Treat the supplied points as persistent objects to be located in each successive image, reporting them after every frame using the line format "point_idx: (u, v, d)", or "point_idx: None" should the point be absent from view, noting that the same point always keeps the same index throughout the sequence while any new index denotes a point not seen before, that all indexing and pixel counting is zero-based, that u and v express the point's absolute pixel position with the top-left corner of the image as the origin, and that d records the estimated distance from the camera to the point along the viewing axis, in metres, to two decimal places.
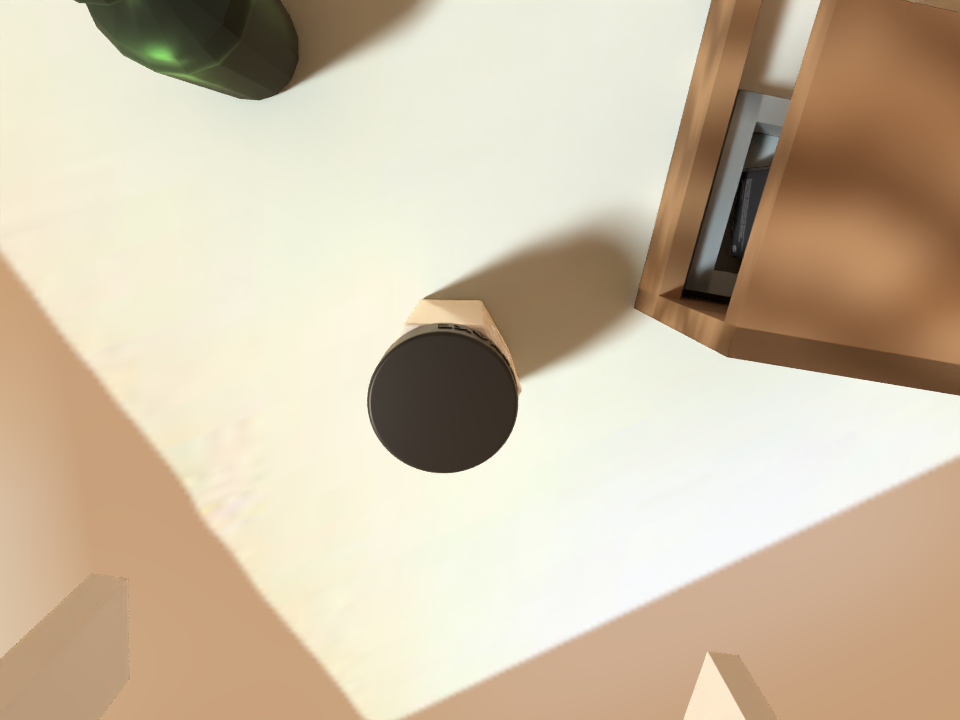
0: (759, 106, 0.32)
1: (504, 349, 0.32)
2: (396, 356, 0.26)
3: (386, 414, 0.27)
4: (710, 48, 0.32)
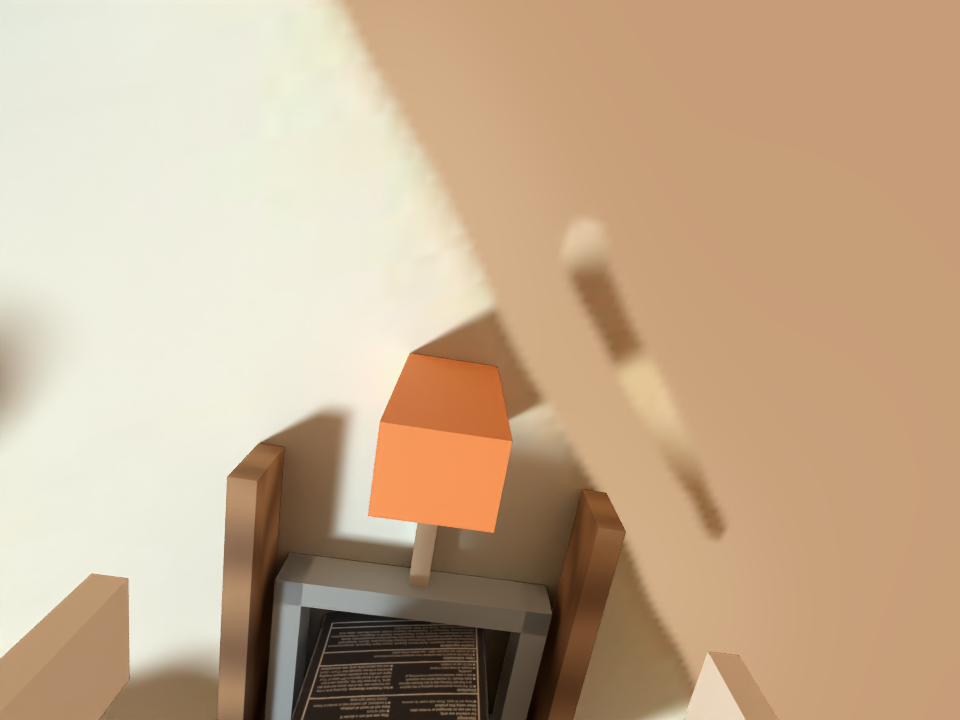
0: (300, 593, 0.30)
1: None
2: None
3: None
4: None
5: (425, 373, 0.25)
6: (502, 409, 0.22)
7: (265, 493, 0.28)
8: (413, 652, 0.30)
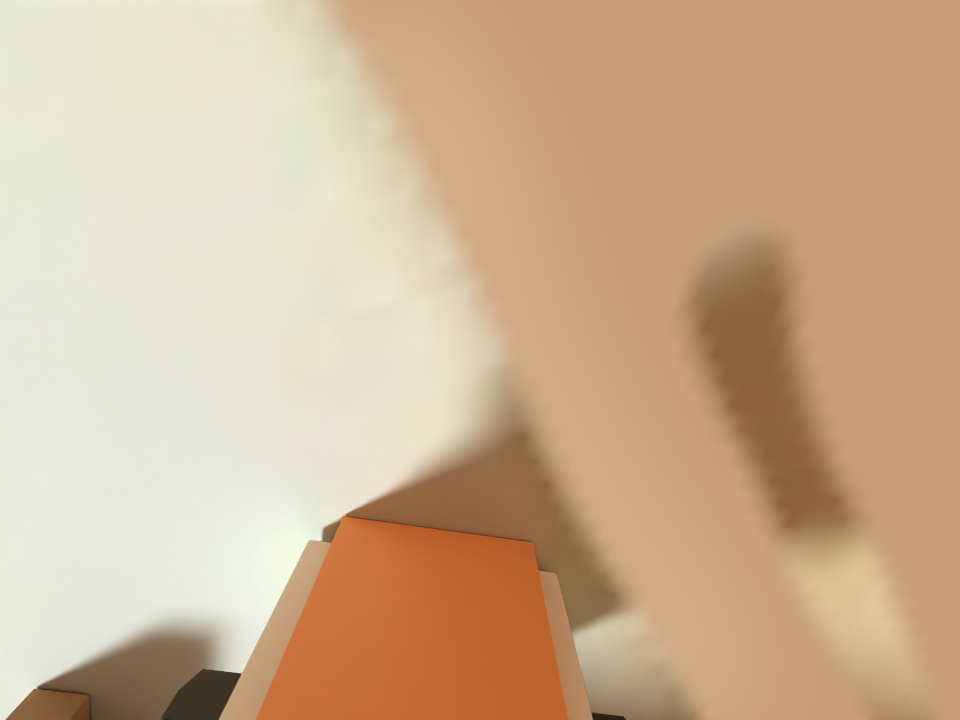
0: None
1: None
2: None
3: None
4: None
5: (359, 618, 0.10)
6: None
7: None
8: None
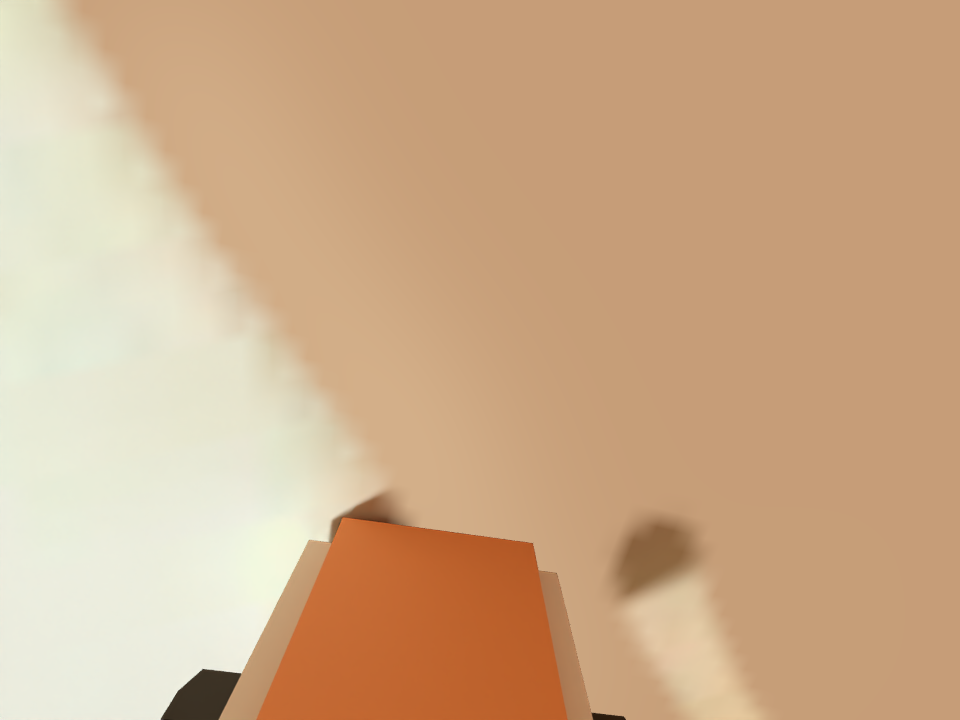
0: None
1: None
2: None
3: None
4: None
5: (359, 619, 0.10)
6: None
7: None
8: None
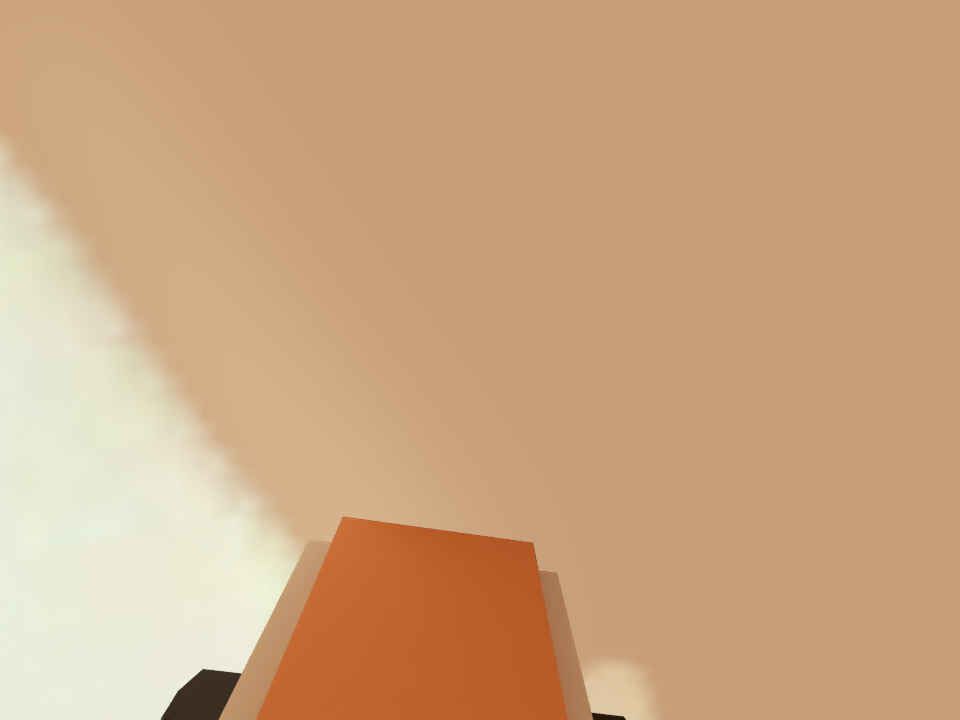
0: None
1: None
2: None
3: None
4: None
5: (360, 618, 0.10)
6: None
7: None
8: None
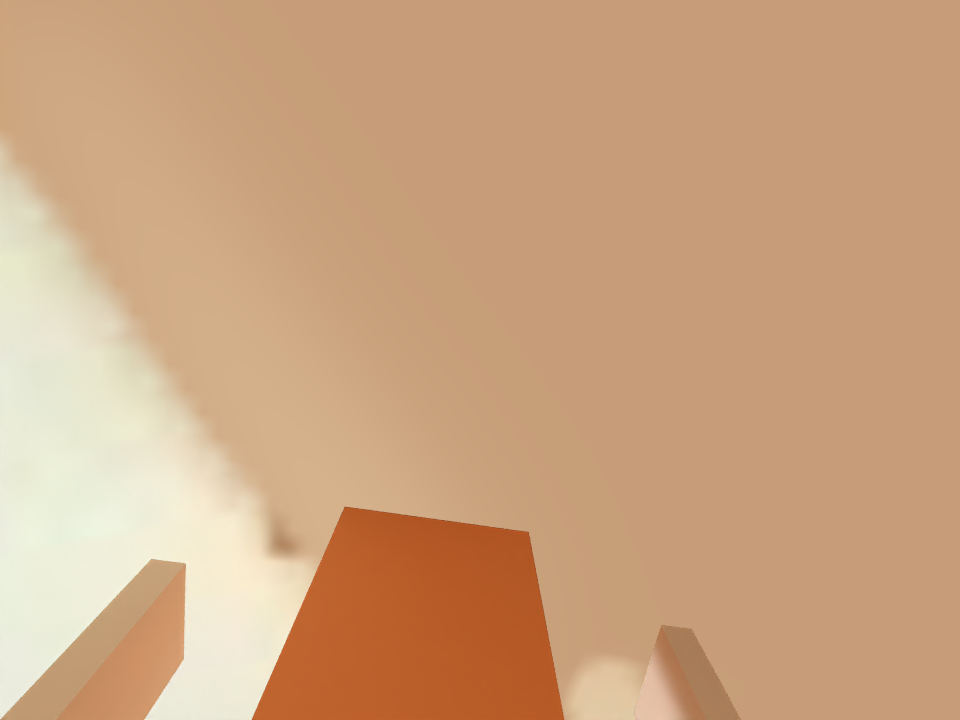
0: None
1: None
2: None
3: None
4: None
5: (362, 600, 0.10)
6: None
7: None
8: None
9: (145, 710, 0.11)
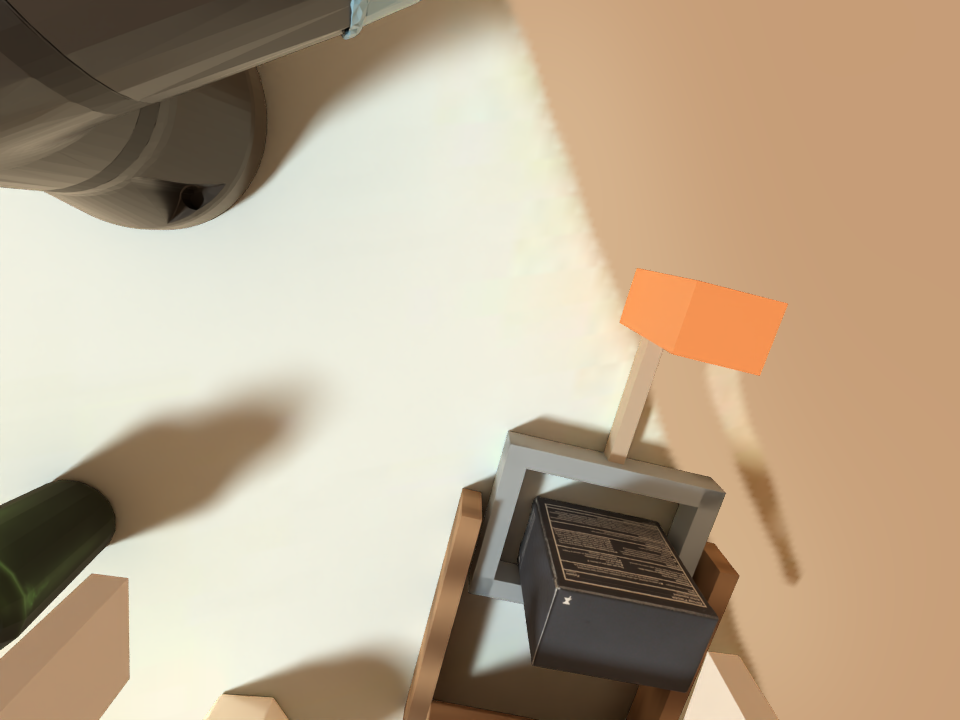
0: (528, 457, 0.36)
1: None
2: None
3: None
4: (446, 558, 0.39)
5: None
6: None
7: None
8: (620, 535, 0.37)
9: None
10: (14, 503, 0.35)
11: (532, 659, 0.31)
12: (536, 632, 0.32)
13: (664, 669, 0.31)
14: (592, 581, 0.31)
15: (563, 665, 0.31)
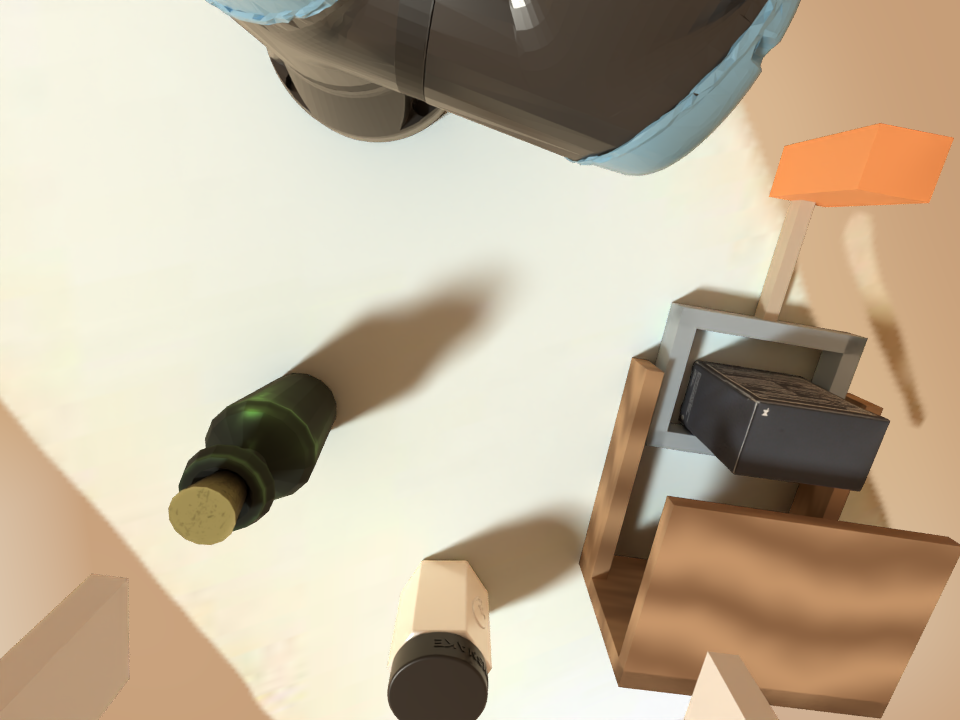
0: (698, 318, 0.42)
1: (481, 626, 0.46)
2: (407, 670, 0.40)
3: (400, 702, 0.41)
4: (624, 417, 0.45)
5: None
6: None
7: None
8: (779, 380, 0.43)
9: None
10: (275, 384, 0.41)
11: (733, 469, 0.38)
12: (734, 447, 0.38)
13: (843, 469, 0.38)
14: (780, 399, 0.37)
15: (759, 472, 0.38)
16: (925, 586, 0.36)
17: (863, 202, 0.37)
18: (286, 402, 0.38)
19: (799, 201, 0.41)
